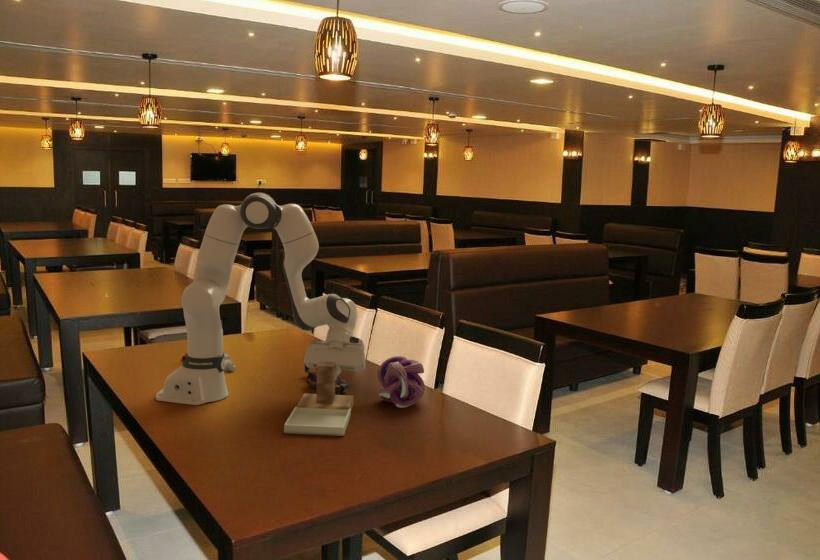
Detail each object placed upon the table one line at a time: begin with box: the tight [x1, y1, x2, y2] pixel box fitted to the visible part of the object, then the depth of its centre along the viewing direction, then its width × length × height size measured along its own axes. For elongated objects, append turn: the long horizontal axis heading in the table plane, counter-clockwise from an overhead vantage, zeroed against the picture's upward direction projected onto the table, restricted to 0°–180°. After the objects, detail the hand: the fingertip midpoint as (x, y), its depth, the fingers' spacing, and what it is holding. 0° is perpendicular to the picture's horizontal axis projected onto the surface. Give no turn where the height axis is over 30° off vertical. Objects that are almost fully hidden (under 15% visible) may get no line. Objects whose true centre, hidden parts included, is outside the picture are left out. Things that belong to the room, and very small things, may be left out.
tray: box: [283, 405, 352, 437], centre depth 184 cm, size 17×16×2 cm
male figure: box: [224, 352, 236, 372], centre depth 239 cm, size 11×10×25 cm
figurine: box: [304, 364, 350, 395], centre depth 217 cm, size 13×6×30 cm
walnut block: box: [316, 361, 336, 404], centre depth 195 cm, size 5×5×12 cm
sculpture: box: [376, 355, 426, 409], centre depth 205 cm, size 16×17×20 cm
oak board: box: [297, 393, 354, 411], centre depth 197 cm, size 16×10×3 cm, turn 88°
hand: (330, 379), depth 201 cm, fingers closed
